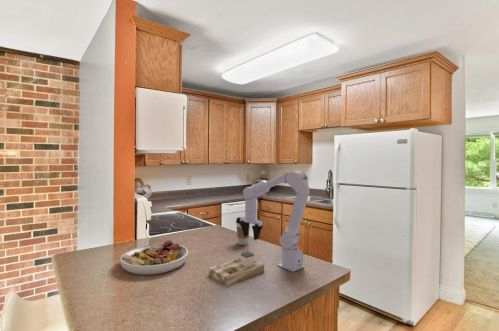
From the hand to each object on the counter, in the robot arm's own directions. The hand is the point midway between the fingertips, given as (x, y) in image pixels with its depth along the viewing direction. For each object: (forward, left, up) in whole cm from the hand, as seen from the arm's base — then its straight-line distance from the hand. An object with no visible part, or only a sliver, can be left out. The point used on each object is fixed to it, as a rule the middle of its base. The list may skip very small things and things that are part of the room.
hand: (250, 237), depth 138 cm
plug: (-12, +12, -10) cm, 20 cm away
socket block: (-10, +17, -10) cm, 22 cm away
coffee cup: (+20, -12, -10) cm, 25 cm away
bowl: (+24, +39, -10) cm, 47 cm away
